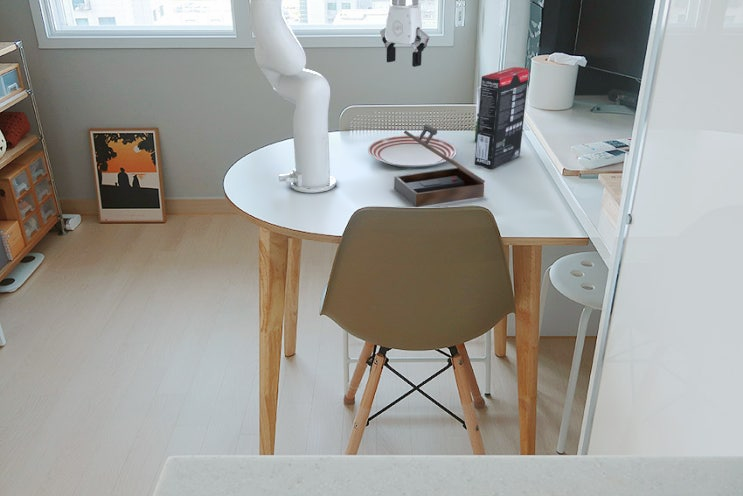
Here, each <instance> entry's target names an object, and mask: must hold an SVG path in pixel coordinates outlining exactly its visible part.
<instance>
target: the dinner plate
mask: <svg viewBox="0 0 743 496" xmlns="http://www.w3.org/2000/svg"><path fill="white" fill-rule="evenodd" d="M413 135H414V134H413ZM414 136H415V137H417V138H419V136H420V135H416V134H415V135H414ZM428 137H429V136H427V135H426V136H425V135H424V136H423V138H422V141H423V142H425V141H426V140H427V138H428ZM428 145H430V146H431V147H433V148H434V149H436V150H438V151H439V152H441V153H442V154H444V155H445V156H447V157H449V158H450V159H452V160H453V158H454V157H456V156H457V154H458V149H457V147H456V146H455V145H454V144H453V143H451V142H449V141H447V140H444V139H440V138H436V137H434V136H433V137H432V138H431V140H430V141H429V143H428ZM367 153H368V155H369V156H371V157H372V158H373V159H375V160H377V161H379V162H382V163H385V164H387V165H391V166H395V167H398V168H406V169H417V168H418V169H421V168H422V169H423V168H428V167H432V166H435V165H439V164H442V163H446V162H447V161H446V160H445V159H443V158H441V157H440V156H438V155H437V154H435V153H433V152H432V151H430V150H429V149H427V148H426V147H424V146H423V145H421V144H420V143H418V142H417V141H415V140H414V139H412V138H411V137H409V136H408V135H406V134H405V135H395V136H387V137H384V138H381V139H378V140H375V141H374V142H372V143H370V144H369V145H368V147H367Z"/></svg>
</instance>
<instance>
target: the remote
mask: <svg viewBox="0 0 743 496" xmlns="http://www.w3.org/2000/svg"><path fill="white" fill-rule="evenodd" d="M406 184H407V185H408V186H410V187H411V188H412V189H413V190H415V191H416V192H417V193H421V192H428V191H434V190H441V189H448V188H454V187H461V186H464V181H463V180H461V179H460V178H458V177H457V176H452V177H445V178H438V179H431V180H424V181H417V182H410V183H406Z"/></svg>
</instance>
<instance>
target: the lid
mask: <svg viewBox="0 0 743 496" xmlns="http://www.w3.org/2000/svg"><path fill="white" fill-rule="evenodd" d="M426 133H429V135H428V136H427V137H428V138H427V140H426V141H425V142H423V141H422V138H423V136H425V135H426ZM403 134H404V135H405V136H406V135H408V136H409V137H411V138H412V139H414V140H415V141H417V142H418V143H420V144H421V145H423V146H424V147H426V148H427V149H429V150H430V151H432V152H433V153H435V154H437V155H438V156H440V157H441V158H443V159H445V160H446V162H448V163H450V164H451V165H452V166H454V167H455V168H457V167H458V168H459V169H461V170H462V171H464V172H466V173H467V174H469V175H470V176H472V177H474V178H475V179H477V180H478V181H480V182H482V183H483V184H484V185H485V182H486V180H484V179H483V178H481V177H480V176H478V175H477V174H475V173H474V172H472V171H470V170H469V169H467V168H466V167H464V166H463V165H461V164H460V163H458V162H456V160H453V158H452V159H450V158H449V157H447V156H445V155H444V154H442V153H441V152H439V151H438V150H436V149H434V148H433V147H431V146H430V145H428V143H429V141H430V140H431V138H432V137H433V138H434V136H436V135H437V134H438V130H437V128H435V127H433V126H431V125H430V124H428V123H425V124H424V125H423V130H422V131H421V133H420V135H418V136H419V138H417V137H415V136H416V135H415V136H414V134H412V133H410V132H409V131H407V130H404V131H403Z"/></svg>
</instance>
